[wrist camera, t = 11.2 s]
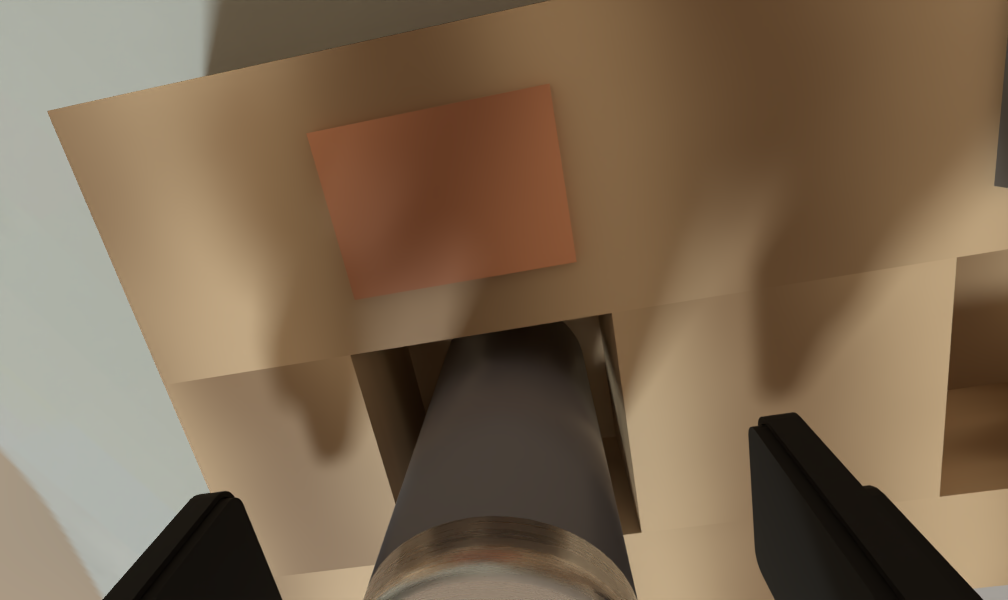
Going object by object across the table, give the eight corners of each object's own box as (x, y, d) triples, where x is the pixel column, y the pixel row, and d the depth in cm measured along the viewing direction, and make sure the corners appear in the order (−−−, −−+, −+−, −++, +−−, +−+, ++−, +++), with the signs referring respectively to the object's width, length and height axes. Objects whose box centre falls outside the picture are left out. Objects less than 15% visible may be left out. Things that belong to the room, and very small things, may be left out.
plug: (572, 292, 15) (646, 595, 6) (593, 418, 16) (682, 840, 7) (432, 315, 15) (280, 636, 6) (462, 437, 17) (376, 860, 7)
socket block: (1271, -118, 12) (1782, -276, 7) (1157, 421, 17) (1428, 553, 12) (199, 112, 15) (33, 111, 10) (342, 525, 19) (277, 671, 14)
